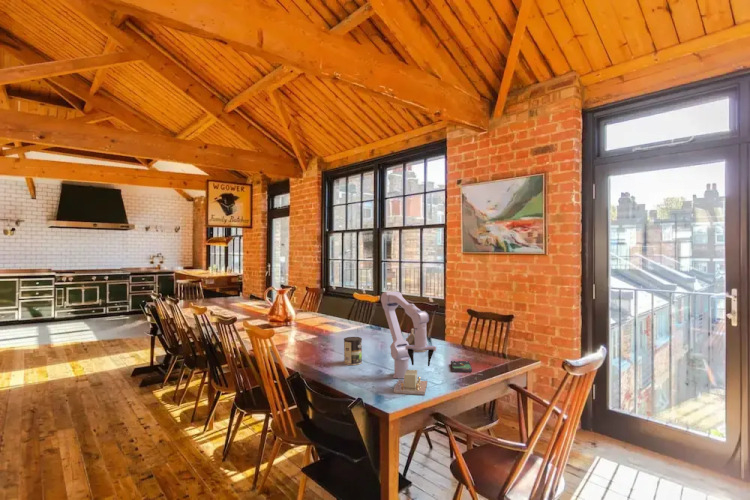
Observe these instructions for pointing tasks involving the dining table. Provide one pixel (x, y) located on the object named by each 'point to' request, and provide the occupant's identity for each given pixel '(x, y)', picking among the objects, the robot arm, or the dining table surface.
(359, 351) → the coffee can
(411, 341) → the ceramic cottage
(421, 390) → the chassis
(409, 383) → the block
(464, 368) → the disk drive
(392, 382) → the dining table surface
